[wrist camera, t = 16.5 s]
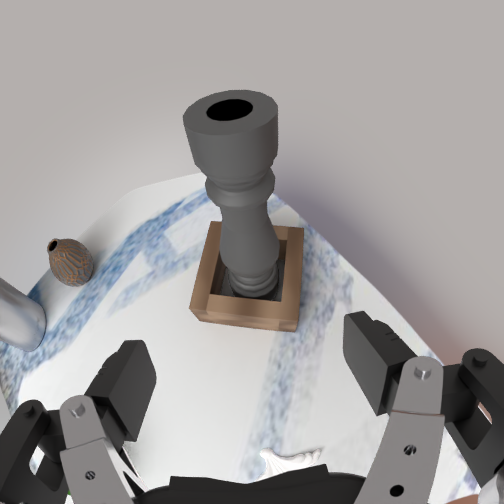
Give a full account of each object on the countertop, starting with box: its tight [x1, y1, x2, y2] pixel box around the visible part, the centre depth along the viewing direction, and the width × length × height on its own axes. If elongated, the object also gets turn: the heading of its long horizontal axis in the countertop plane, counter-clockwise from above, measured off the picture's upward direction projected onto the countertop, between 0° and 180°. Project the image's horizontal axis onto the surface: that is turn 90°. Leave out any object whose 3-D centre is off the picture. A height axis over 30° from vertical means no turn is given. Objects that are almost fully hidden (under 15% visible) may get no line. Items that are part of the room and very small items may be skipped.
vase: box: [47, 239, 93, 286], centre depth 35 cm, size 7×7×9 cm
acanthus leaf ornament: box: [255, 448, 321, 481], centre depth 23 cm, size 8×7×2 cm
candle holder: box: [183, 90, 280, 301], centre depth 25 cm, size 6×6×25 cm
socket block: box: [189, 221, 304, 332], centre depth 34 cm, size 12×12×5 cm
